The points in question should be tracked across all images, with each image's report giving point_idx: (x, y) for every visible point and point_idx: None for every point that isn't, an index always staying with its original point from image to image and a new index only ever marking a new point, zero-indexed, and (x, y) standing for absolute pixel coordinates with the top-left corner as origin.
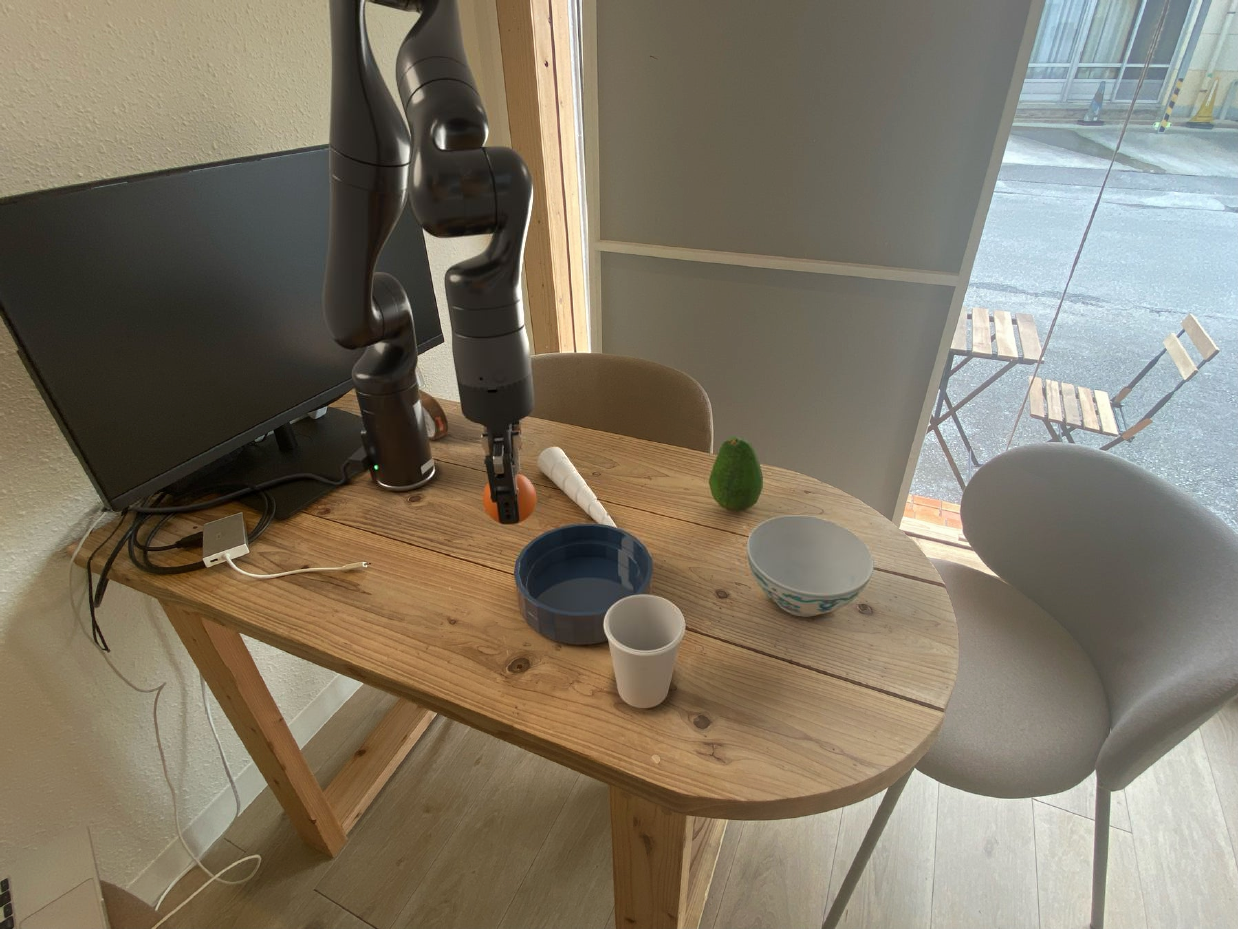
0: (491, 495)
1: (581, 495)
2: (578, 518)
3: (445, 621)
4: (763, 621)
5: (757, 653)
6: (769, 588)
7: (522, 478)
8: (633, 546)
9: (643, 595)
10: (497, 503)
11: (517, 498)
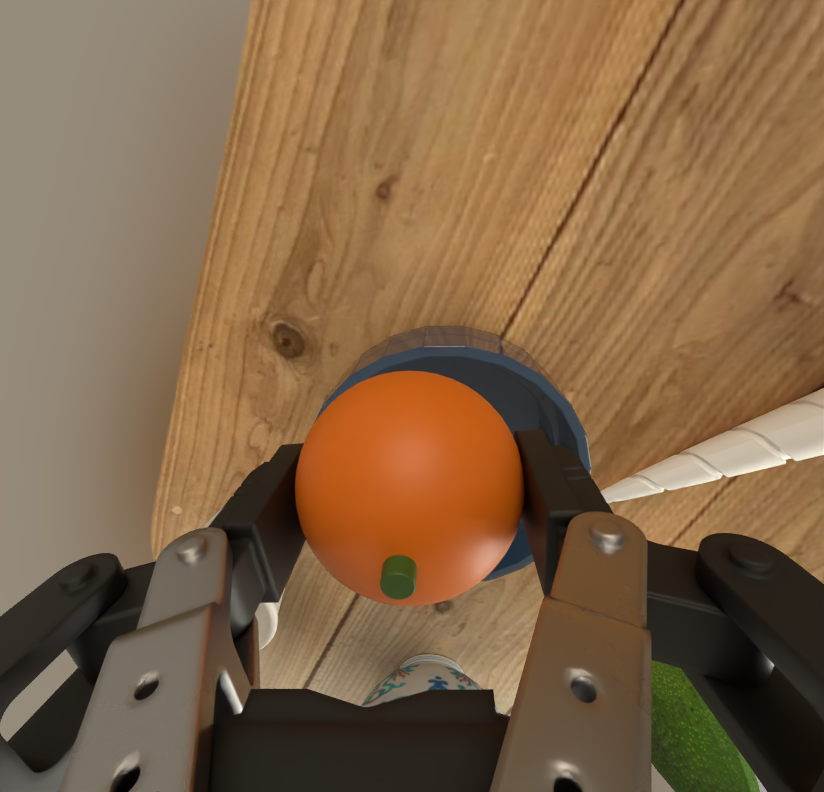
0: (3, 616)
1: (748, 450)
2: (689, 423)
3: (384, 173)
4: (391, 635)
5: (339, 620)
6: (376, 703)
7: (417, 604)
8: (513, 550)
9: (269, 619)
10: (242, 502)
11: (289, 572)
